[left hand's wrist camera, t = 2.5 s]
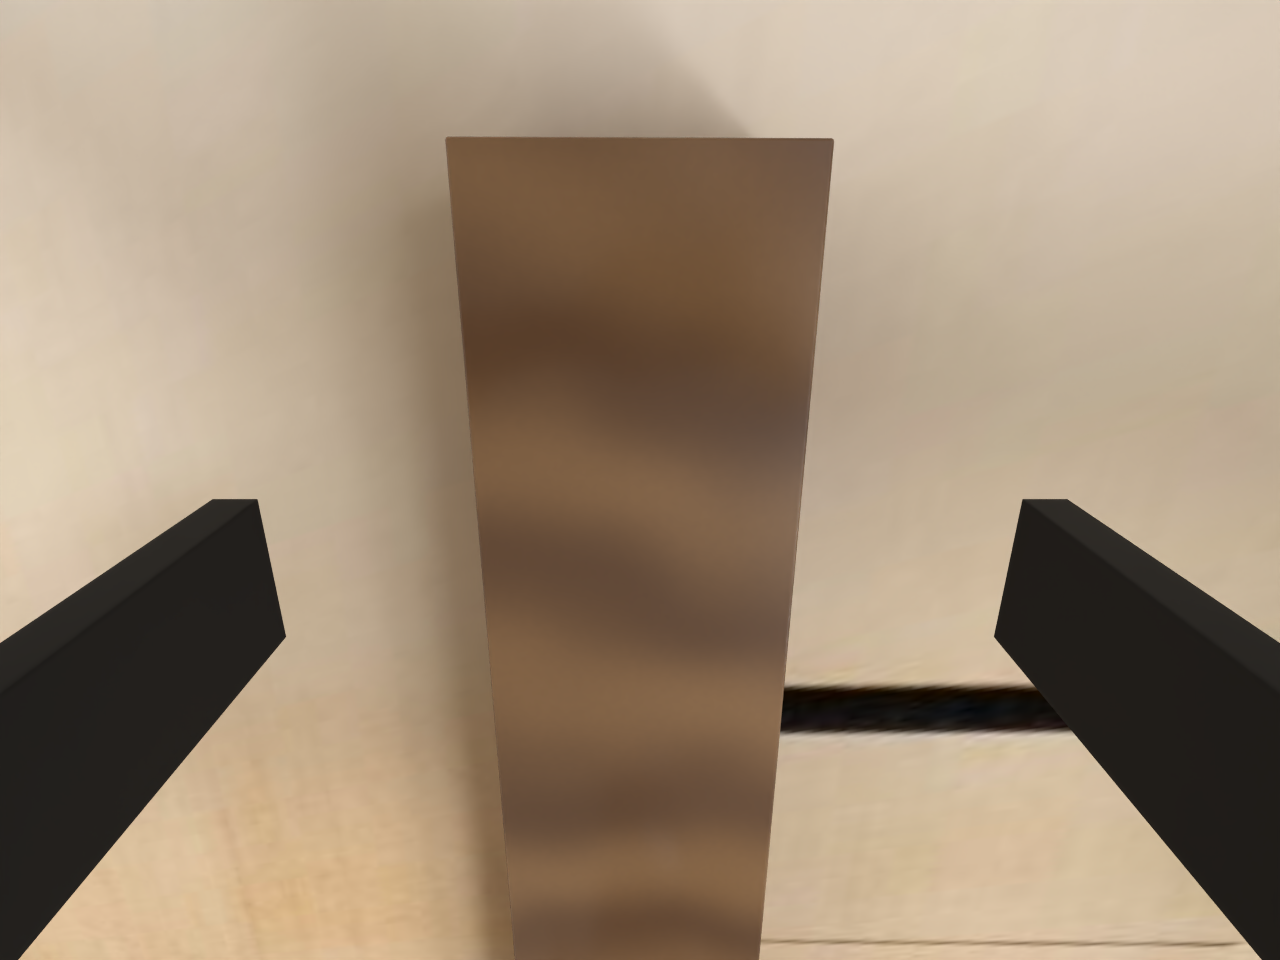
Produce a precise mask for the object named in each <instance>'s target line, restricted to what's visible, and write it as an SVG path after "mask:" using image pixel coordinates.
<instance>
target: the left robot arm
mask: <svg viewBox="0 0 1280 960" xmlns="http://www.w3.org/2000/svg"><path fill="white" fill-rule="evenodd" d="M285 637H286V634H285V630H284V625H283V620H282V615H281V610H280V606H279V601H278V596H277V591H276V586H275V582H274V577H273V572H272V567H271V562H270V558H269V553H268V548H267V543H266V538H265V533H264V529H263V524H262V519H261V514H260V509H259V505H258V500H257V499H212V500H211V501H209V502H208V503H207V504H205V505H204V506H202V507H201V508H199V509H198V510H196V511H195V512H193V513H192V514H190V515H189V516H187V517H186V518H184V519H183V520H181V521H180V522H178V523H177V524H176V525H174V526H173V527H171V528H170V529H168V530H167V531H165V532H164V533H162V534H161V535H159V536H158V537H156V538H155V539H153V540H152V541H150V542H149V543H147V544H146V545H144V546H143V547H142V548H140V549H139V550H137V551H136V552H134V553H133V554H131V555H130V556H128V557H127V558H125V559H124V560H122V561H121V562H119V563H118V564H116V565H115V566H113V567H112V568H111V569H109V570H108V571H106V572H105V573H103V574H102V575H100V576H99V577H97V578H96V579H94V580H93V581H91V582H90V583H88V584H87V585H85V586H84V587H82V588H81V589H79V590H78V591H77V592H75V593H74V594H72V595H71V596H69V597H68V598H66V599H65V600H63V601H62V602H60V603H59V604H57V605H56V606H54V607H53V608H51V609H50V610H48V611H47V612H46V613H44V614H43V615H41V616H40V617H38V618H37V619H35V620H34V621H32V622H31V623H29V624H28V625H26V626H25V627H23V628H22V629H20V630H19V631H17V632H16V633H14V634H13V635H12V636H10V637H9V638H7V639H6V640H4V641H3V642H1V643H0V960H18V959H19V958H20V957H21V956H22V954H23V953H24V952H25V951H26V950H27V948H28V947H29V946H30V945H31V944H32V942H33V941H34V940H35V939H36V938H37V936H38V935H39V934H40V933H41V932H42V930H43V929H44V928H45V927H46V926H47V924H48V923H49V922H50V921H51V920H52V918H53V917H54V916H55V915H56V913H57V912H58V911H59V910H60V909H61V907H62V906H63V905H64V904H65V903H66V901H67V900H68V899H69V898H70V897H71V895H72V894H73V893H74V892H75V891H76V889H77V888H78V887H79V886H80V885H81V883H82V882H83V881H84V880H85V879H86V877H87V876H88V875H89V874H90V873H91V871H92V870H93V869H94V868H95V866H96V865H97V864H98V863H99V862H100V860H101V859H102V858H103V857H104V856H105V854H106V853H107V852H108V851H109V850H110V848H111V847H112V846H113V845H114V844H115V842H116V841H117V840H118V839H119V838H120V836H121V835H122V834H123V833H124V832H125V830H126V829H127V828H128V827H129V825H130V824H131V823H132V822H133V821H134V819H135V818H136V817H137V816H138V815H139V813H140V812H141V811H142V810H143V809H144V807H145V806H146V805H147V804H148V803H149V801H150V800H151V799H152V798H153V797H154V795H155V794H156V793H157V792H158V791H159V789H160V788H161V787H162V786H163V784H164V783H165V782H166V781H167V780H168V778H169V777H170V776H171V775H172V774H173V772H174V771H175V770H176V769H177V768H178V766H179V765H180V764H181V763H182V762H183V760H184V759H185V758H186V757H187V756H188V754H189V753H190V752H191V751H192V750H193V748H194V747H195V746H196V745H197V744H198V742H199V741H200V740H201V739H202V737H203V736H204V735H205V734H206V733H207V731H208V730H209V729H210V728H211V727H212V725H213V724H214V723H215V722H216V721H217V719H218V718H219V717H220V716H221V715H222V713H223V712H224V711H225V710H226V709H227V707H228V706H229V705H230V704H231V703H232V701H233V700H234V699H235V698H236V696H237V695H238V694H239V693H240V692H241V690H242V689H243V688H244V687H245V686H246V684H247V683H248V682H249V681H250V680H251V678H252V677H253V676H254V675H255V674H256V672H257V671H258V670H259V669H260V668H261V666H262V665H263V664H264V663H265V662H266V660H267V659H268V658H269V657H270V656H271V654H272V653H273V652H274V651H275V649H276V648H277V647H278V646H279V645H280V643H281V642H282V641H283V640H284V639H285ZM994 637H995V639H996V640H997V641H998V642H999V643H1000V645H1001V646H1002V647H1003V648H1004V649H1005V651H1006V652H1007V653H1008V654H1009V656H1010V657H1011V658H1012V659H1013V660H1014V662H1015V663H1016V664H1017V665H1018V666H1019V668H1020V669H1021V670H1022V671H1023V672H1024V674H1025V675H1026V676H1027V677H1028V678H1029V680H1030V681H1031V682H1032V683H1033V684H1034V686H1035V687H1036V688H1037V689H1038V690H1039V692H1040V693H1041V694H1042V695H1043V696H1044V698H1045V699H1046V700H1047V701H1048V703H1049V704H1050V705H1051V706H1052V707H1053V709H1054V710H1055V711H1056V712H1057V713H1058V715H1059V716H1060V717H1061V718H1062V719H1063V721H1064V722H1065V723H1066V724H1067V725H1068V727H1069V728H1070V729H1071V730H1072V731H1073V733H1074V734H1075V735H1076V736H1077V737H1078V739H1079V740H1080V741H1081V742H1082V744H1083V745H1084V746H1085V747H1086V748H1087V750H1088V751H1089V752H1090V753H1091V754H1092V756H1093V757H1094V758H1095V759H1096V760H1097V762H1098V763H1099V764H1100V765H1101V766H1102V768H1103V769H1104V770H1105V771H1106V772H1107V774H1108V775H1109V776H1110V777H1111V778H1112V780H1113V781H1114V782H1115V783H1116V785H1117V786H1118V787H1119V788H1120V789H1121V791H1122V792H1123V793H1124V794H1125V795H1126V797H1127V798H1128V799H1129V800H1130V801H1131V803H1132V804H1133V805H1134V806H1135V807H1136V809H1137V810H1138V811H1139V812H1140V813H1141V815H1142V816H1143V817H1144V818H1145V819H1146V821H1147V822H1148V823H1149V824H1150V825H1151V827H1152V828H1153V829H1154V830H1155V832H1156V833H1157V834H1158V835H1159V836H1160V838H1161V839H1162V840H1163V841H1164V842H1165V844H1166V845H1167V846H1168V847H1169V848H1170V850H1171V851H1172V852H1173V853H1174V854H1175V856H1176V857H1177V858H1178V859H1179V860H1180V862H1181V863H1182V864H1183V865H1184V866H1185V868H1186V869H1187V870H1188V871H1189V873H1190V874H1191V875H1192V876H1193V877H1194V879H1195V880H1196V881H1197V882H1198V883H1199V885H1200V886H1201V887H1202V888H1203V889H1204V891H1205V892H1206V893H1207V894H1208V895H1209V897H1210V898H1211V899H1212V900H1213V901H1214V903H1215V904H1216V905H1217V906H1218V907H1219V909H1220V910H1221V911H1222V912H1223V913H1224V915H1225V916H1226V917H1227V918H1228V920H1229V921H1230V922H1231V923H1232V924H1233V926H1234V927H1235V928H1236V929H1237V930H1238V932H1239V933H1240V934H1241V935H1242V936H1243V938H1244V939H1245V940H1246V941H1247V942H1248V944H1249V945H1250V946H1251V947H1252V948H1253V950H1254V951H1255V952H1256V953H1257V954H1258V956H1259V957H1260V958H1261V959H1262V960H1280V643H1279V642H1277V641H1276V640H1274V639H1273V638H1271V637H1270V636H1268V635H1267V634H1266V633H1264V632H1263V631H1261V630H1260V629H1258V628H1257V627H1255V626H1254V625H1252V624H1251V623H1249V622H1248V621H1246V620H1245V619H1243V618H1242V617H1240V616H1239V615H1237V614H1236V613H1234V612H1233V611H1232V610H1230V609H1229V608H1227V607H1226V606H1224V605H1223V604H1221V603H1220V602H1218V601H1217V600H1215V599H1214V598H1212V597H1211V596H1209V595H1208V594H1206V593H1205V592H1203V591H1202V590H1201V589H1199V588H1198V587H1196V586H1195V585H1193V584H1192V583H1190V582H1189V581H1187V580H1186V579H1184V578H1183V577H1181V576H1180V575H1178V574H1177V573H1175V572H1174V571H1172V570H1171V569H1169V568H1168V567H1167V566H1165V565H1164V564H1162V563H1161V562H1159V561H1158V560H1156V559H1155V558H1153V557H1152V556H1150V555H1149V554H1147V553H1146V552H1144V551H1143V550H1141V549H1140V548H1138V547H1137V546H1136V545H1134V544H1133V543H1131V542H1130V541H1128V540H1127V539H1125V538H1124V537H1122V536H1121V535H1119V534H1118V533H1116V532H1115V531H1113V530H1112V529H1110V528H1109V527H1107V526H1106V525H1104V524H1103V523H1102V522H1100V521H1099V520H1097V519H1096V518H1094V517H1093V516H1091V515H1090V514H1088V513H1087V512H1085V511H1084V510H1082V509H1081V508H1079V507H1078V506H1076V505H1075V504H1073V503H1072V502H1071V501H1069V500H1068V499H1023V500H1022V505H1021V509H1020V514H1019V519H1018V524H1017V529H1016V533H1015V538H1014V543H1013V548H1012V553H1011V558H1010V562H1009V567H1008V572H1007V577H1006V582H1005V586H1004V591H1003V596H1002V601H1001V606H1000V610H999V615H998V620H997V625H996V630H995V634H994Z"/></svg>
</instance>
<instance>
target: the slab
mask: <svg viewBox="0 0 1280 960" xmlns="http://www.w3.org/2000/svg"><path fill="white" fill-rule="evenodd" d="M445 141H446V152H447V164H448V176H449V188H450V200H451V211H452V223H453V235H454V247H455V259H456V270H457V282H458V294H459V306H460V317H461V329H462V341H463V353H464V365H465V376H466V388H467V400H468V412H469V423H470V435H471V447H472V459H473V471H474V482H475V494H476V506H477V518H478V529H479V541H480V553H481V565H482V577H483V588H484V600H485V612H486V624H487V635H488V647H489V659H490V671H491V683H492V694H493V706H494V718H495V730H496V741H497V753H498V765H499V777H500V789H501V800H502V812H503V824H504V836H505V848H506V859H507V871H508V883H509V895H510V906H511V918H512V930H513V942H514V954H515V960H759V953H760V942H761V931H762V921H763V910H764V899H765V888H766V877H767V866H768V855H769V844H770V833H771V823H772V812H773V801H774V790H775V779H776V768H777V757H778V746H779V735H780V724H781V714H782V703H783V692H784V681H785V670H786V659H787V648H788V637H789V626H790V616H791V605H792V594H793V583H794V572H795V561H796V550H797V539H798V528H799V518H800V507H801V496H802V485H803V474H804V463H805V452H806V441H807V430H808V419H809V409H810V398H811V387H812V376H813V365H814V354H815V343H816V332H817V321H818V311H819V300H820V289H821V278H822V267H823V256H824V245H825V234H826V223H827V212H828V202H829V191H830V180H831V169H832V158H833V147H834V140H833V139H832V138H637V137H446V140H445Z"/></svg>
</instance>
